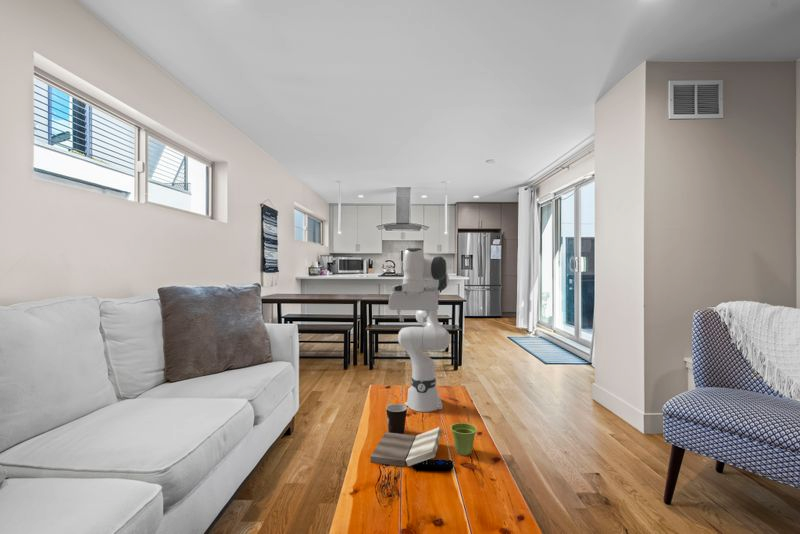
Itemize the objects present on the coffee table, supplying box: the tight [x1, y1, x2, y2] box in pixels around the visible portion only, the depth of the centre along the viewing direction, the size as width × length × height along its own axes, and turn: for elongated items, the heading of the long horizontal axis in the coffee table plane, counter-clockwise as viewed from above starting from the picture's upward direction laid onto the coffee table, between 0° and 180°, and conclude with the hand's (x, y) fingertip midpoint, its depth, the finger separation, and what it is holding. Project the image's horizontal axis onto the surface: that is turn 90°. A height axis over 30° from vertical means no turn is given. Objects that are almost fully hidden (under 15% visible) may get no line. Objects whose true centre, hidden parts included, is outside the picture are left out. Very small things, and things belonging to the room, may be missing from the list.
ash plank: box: [406, 426, 443, 467], centre depth 133 cm, size 20×10×2 cm, turn 167°
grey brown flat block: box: [369, 431, 416, 467], centre depth 135 cm, size 20×12×2 cm, turn 167°
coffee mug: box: [385, 403, 408, 434], centre depth 152 cm, size 12×9×10 cm
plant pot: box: [450, 422, 478, 456], centre depth 135 cm, size 9×9×9 cm
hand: (413, 321), depth 149 cm, fingers open, 8 cm apart
